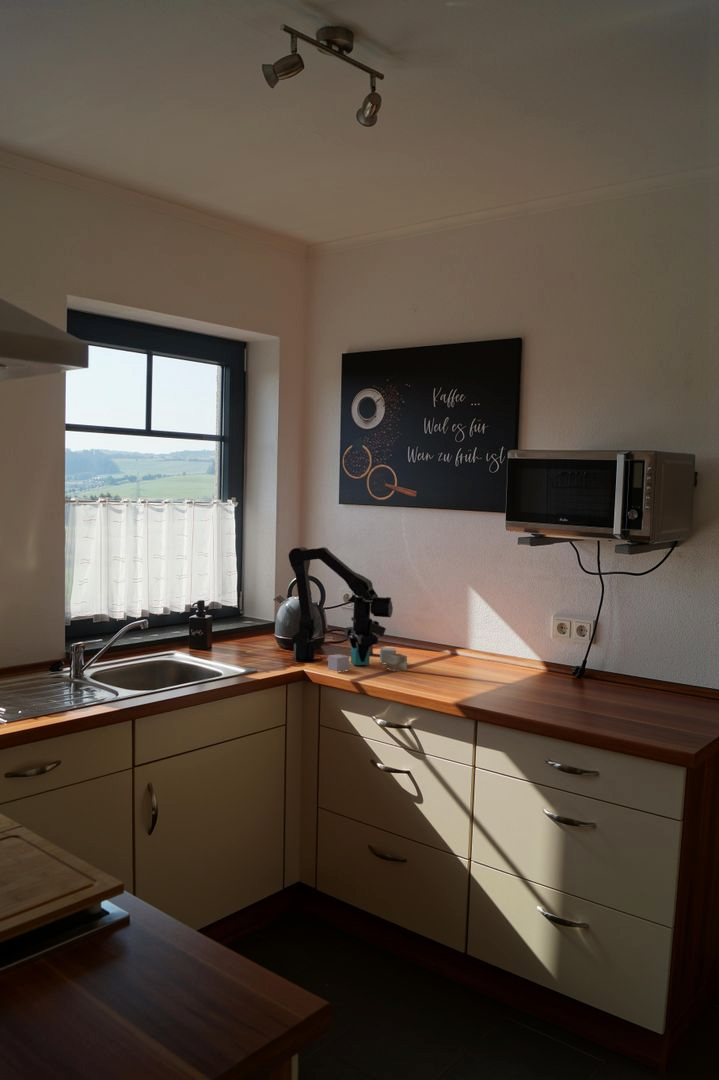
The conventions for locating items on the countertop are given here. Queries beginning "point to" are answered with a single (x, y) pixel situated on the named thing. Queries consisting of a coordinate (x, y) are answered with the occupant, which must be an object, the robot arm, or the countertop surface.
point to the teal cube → (356, 659)
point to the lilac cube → (338, 662)
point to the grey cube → (386, 651)
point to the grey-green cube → (396, 662)
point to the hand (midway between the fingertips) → (360, 660)
